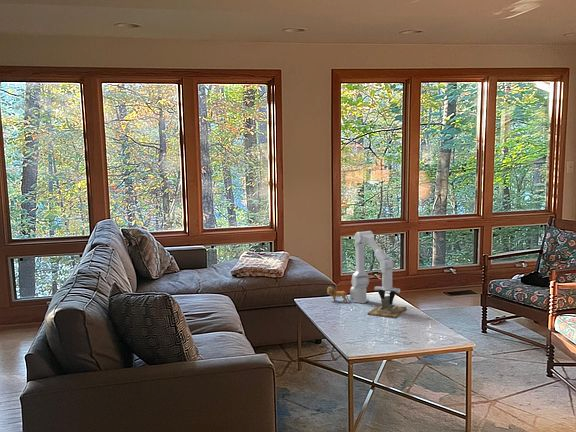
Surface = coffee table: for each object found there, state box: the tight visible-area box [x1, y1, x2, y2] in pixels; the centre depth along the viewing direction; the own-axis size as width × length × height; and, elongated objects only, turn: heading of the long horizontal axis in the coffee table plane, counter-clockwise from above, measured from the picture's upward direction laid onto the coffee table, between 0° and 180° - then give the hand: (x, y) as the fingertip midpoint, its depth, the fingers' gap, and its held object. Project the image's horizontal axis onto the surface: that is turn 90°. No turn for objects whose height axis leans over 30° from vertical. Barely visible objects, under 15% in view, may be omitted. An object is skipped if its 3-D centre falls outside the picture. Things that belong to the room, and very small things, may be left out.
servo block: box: [380, 295, 394, 308], centre depth 324 cm, size 4×9×6 cm, turn 151°
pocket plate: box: [367, 303, 407, 319], centre depth 325 cm, size 16×20×2 cm
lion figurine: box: [326, 286, 352, 304], centre depth 348 cm, size 15×5×9 cm, turn 72°
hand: (387, 303), depth 324 cm, fingers closed on servo block, 4 cm apart
